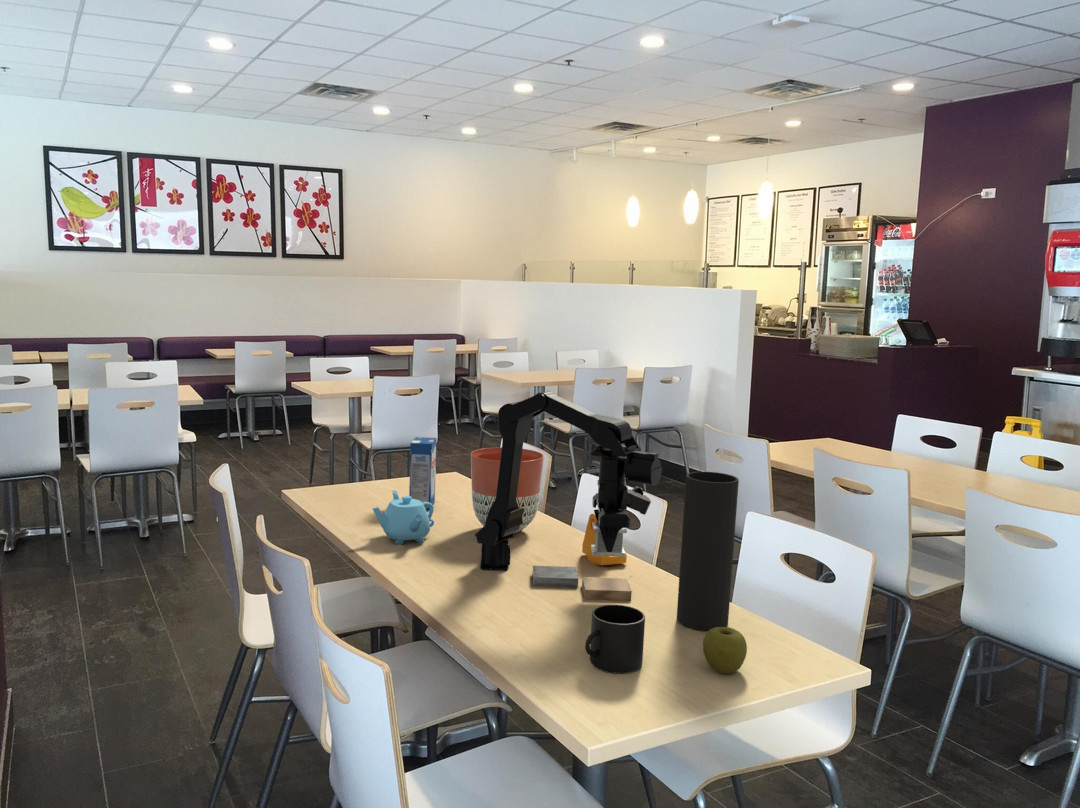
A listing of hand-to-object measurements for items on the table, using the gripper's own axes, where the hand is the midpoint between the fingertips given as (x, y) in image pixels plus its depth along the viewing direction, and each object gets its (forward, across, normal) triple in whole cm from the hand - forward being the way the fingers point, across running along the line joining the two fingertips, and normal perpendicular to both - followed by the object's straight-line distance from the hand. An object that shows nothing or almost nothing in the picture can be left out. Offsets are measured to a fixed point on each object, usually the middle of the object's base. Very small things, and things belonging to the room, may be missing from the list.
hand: (608, 548), depth 185 cm
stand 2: (+10, 0, 0) cm, 10 cm away
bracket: (+10, +23, -2) cm, 25 cm away
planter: (+11, +45, +23) cm, 51 cm away
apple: (+10, -37, -17) cm, 42 cm away
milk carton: (+11, +69, +48) cm, 85 cm away
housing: (+1, 0, 0) cm, 1 cm away
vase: (+10, -15, -18) cm, 26 cm away
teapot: (+11, +35, +49) cm, 61 cm away
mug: (+10, -36, +3) cm, 38 cm away
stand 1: (+10, +7, +11) cm, 16 cm away
